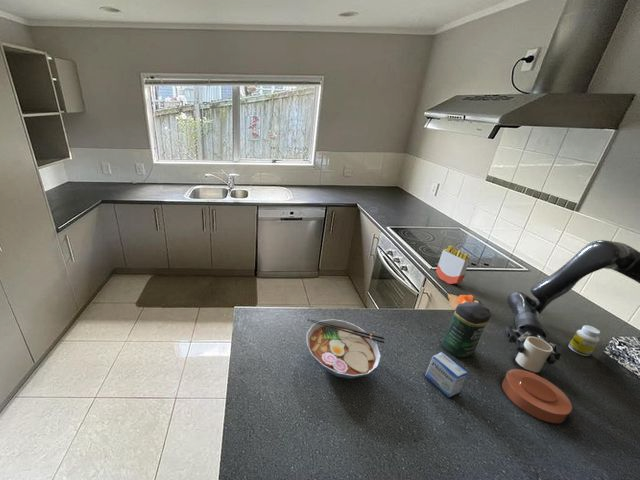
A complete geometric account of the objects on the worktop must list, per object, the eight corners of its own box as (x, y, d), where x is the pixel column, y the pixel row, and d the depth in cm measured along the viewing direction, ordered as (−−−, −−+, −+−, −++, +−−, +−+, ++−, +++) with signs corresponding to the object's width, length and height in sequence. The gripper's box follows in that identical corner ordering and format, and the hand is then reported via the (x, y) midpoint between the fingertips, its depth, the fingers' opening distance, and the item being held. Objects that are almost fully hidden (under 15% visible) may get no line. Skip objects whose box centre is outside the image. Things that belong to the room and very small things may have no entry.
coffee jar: (457, 361, 94) (476, 317, 86) (437, 343, 100) (453, 301, 93) (478, 354, 96) (498, 311, 89) (457, 338, 103) (474, 296, 96)
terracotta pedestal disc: (560, 395, 83) (566, 385, 82) (571, 434, 73) (579, 424, 71) (500, 369, 91) (505, 360, 89) (503, 401, 81) (508, 391, 79)
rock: (451, 308, 119) (454, 300, 117) (447, 293, 129) (449, 285, 127) (485, 317, 114) (489, 309, 113) (478, 301, 124) (481, 293, 123)
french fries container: (440, 273, 145) (451, 242, 138) (461, 285, 136) (473, 252, 129) (434, 275, 143) (444, 244, 136) (454, 287, 134) (467, 254, 127)
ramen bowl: (292, 375, 86) (295, 356, 83) (308, 326, 106) (310, 309, 102) (379, 407, 78) (386, 387, 74) (378, 348, 97) (383, 329, 94)
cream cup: (538, 363, 93) (551, 342, 89) (541, 376, 88) (554, 354, 85) (514, 353, 96) (525, 333, 93) (516, 365, 92) (527, 344, 88)
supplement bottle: (566, 342, 103) (578, 321, 100) (587, 349, 101) (600, 328, 97) (569, 351, 99) (583, 330, 96) (591, 359, 97) (606, 337, 93)
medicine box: (424, 376, 88) (432, 355, 84) (434, 371, 89) (442, 351, 86) (449, 398, 81) (458, 377, 78) (458, 393, 83) (468, 372, 79)
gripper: (507, 309, 103) (511, 336, 91) (562, 328, 95) (573, 359, 83) (500, 325, 106) (502, 353, 94) (552, 344, 98) (562, 377, 86)
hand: (535, 356), depth 88 cm, fingers closed on cream cup, 6 cm apart
